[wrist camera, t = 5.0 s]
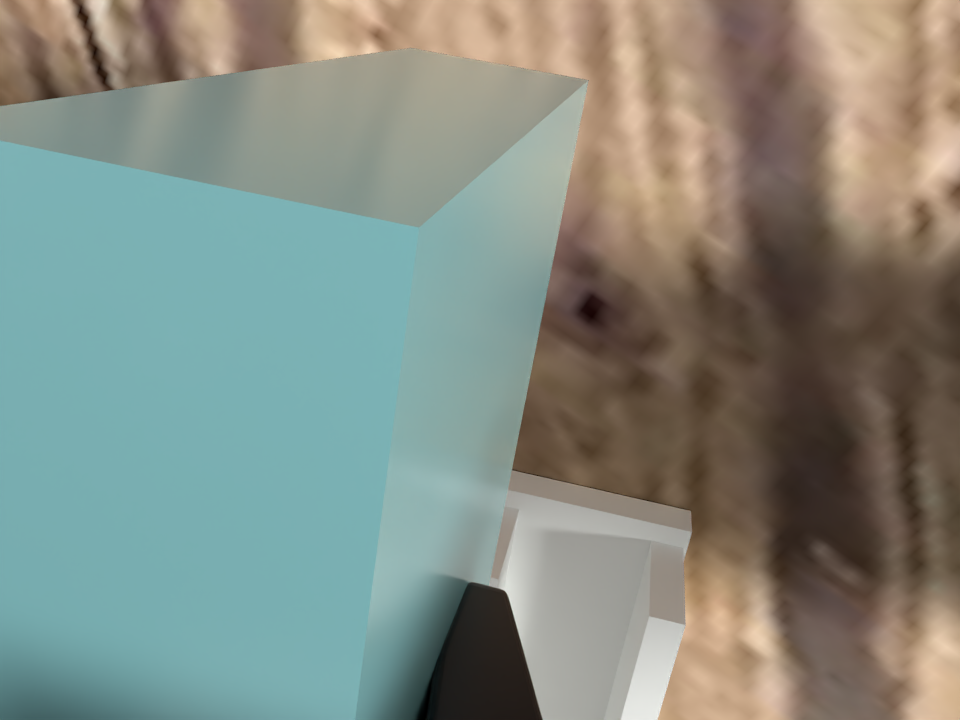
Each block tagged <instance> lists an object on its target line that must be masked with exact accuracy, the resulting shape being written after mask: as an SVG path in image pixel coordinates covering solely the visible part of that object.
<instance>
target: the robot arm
mask: <svg viewBox="0 0 960 720" xmlns="http://www.w3.org/2000/svg"><path fill="white" fill-rule="evenodd" d="M425 720H543V719H542V715H541V711H540V708H539V704H538V701H537V697H536V694H535V690H534V686H533V683H532V679H531V676H530V672H529V669H528V665H527V661H526V658H525V654H524V651H523V647H522V643H521V640H520V636H519V633H518V629H517V626H516V622H515V618H514V615H513V611H512V608H511V604H510V601H509V597H508V595H507V593H506V592H505V591H504V590H502V589H499V588H495V587H491V586H488V585H484V584H480V583H476V582H470V583H468V585H467V587H466V589H465V592H464V594H463V597H462V599H461V602H460V604H459V607H458V609H457V612H456V614H455V617H454V619H453V621H452V624H451V626H450V629H449V631H448V634H447V636H446V639H445V641H444V644H443V646H442V649H441V652H440V654H439V657H438V660H437V662H436V665H435V668H434V672H433V677H432V683H431V689H430V694H429V700H428V706H427V712H426V717H425Z"/></svg>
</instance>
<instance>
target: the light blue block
mask: <svg viewBox="0 0 960 720" xmlns="http://www.w3.org/2000/svg"><path fill="white" fill-rule="evenodd" d="M588 81H589V80H585V79H579V78H574V77H568V76H563V75H557V74H552V73H546V72H541V71H535V70H530V69H524V68H519V67H513V66H508V65H502V64H497V63H491V62H486V61H480V60H475V59H469V58H464V57H458V56H453V55H447V54H442V53H436V52H431V51H425V50H420V49H414V48H407V49H400V50H393V51H386V52H378V53H371V54H364V55H357V56H350V57H343V58H336V59H329V60H322V61H315V62H308V63H301V64H294V65H287V66H280V67H273V68H266V69H259V70H252V71H245V72H237V73H230V74H223V75H216V76H209V77H202V78H195V79H188V80H181V81H174V82H167V83H160V84H153V85H146V86H139V87H132V88H125V89H118V90H111V91H104V92H97V93H89V94H82V95H75V96H68V97H61V98H54V99H47V100H40V101H33V102H26V103H19V104H12V105H5V106H0V720H425V717H426V712H427V706H428V700H429V694H430V689H431V683H432V677H433V672H434V668H435V665H436V662H437V660H438V657H439V654H440V652H441V649H442V646H443V644H444V641H445V639H446V636H447V634H448V631H449V629H450V626H451V624H452V621H453V619H454V617H455V614H456V612H457V609H458V607H459V604H460V602H461V599H462V597H463V594H464V592H465V589H466V587H467V585H468V583H470V582H476V583H480V584H484V585H488V586H489V583H490V578H491V573H492V568H493V563H494V558H495V553H496V548H497V543H498V538H499V533H500V527H501V522H502V517H503V512H504V507H505V502H506V497H507V492H508V487H509V482H510V477H511V472H512V467H513V461H514V456H515V451H516V446H517V441H518V436H519V431H520V426H521V421H522V416H523V411H524V406H525V401H526V396H527V390H528V385H529V380H530V375H531V370H532V365H533V360H534V355H535V350H536V345H537V340H538V335H539V330H540V324H541V319H542V314H543V309H544V304H545V299H546V294H547V289H548V284H549V279H550V274H551V269H552V264H553V258H554V253H555V248H556V243H557V238H558V233H559V228H560V223H561V218H562V213H563V208H564V203H565V198H566V193H567V187H568V182H569V177H570V172H571V167H572V162H573V157H574V152H575V147H576V142H577V137H578V132H579V127H580V121H581V116H582V111H583V106H584V101H585V96H586V91H587V86H588Z"/></svg>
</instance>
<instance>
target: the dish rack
mask: <svg viewBox="0 0 960 720" xmlns="http://www.w3.org/2000/svg"><path fill="white" fill-rule="evenodd" d="M691 534H692V522H691V511H689V510H685V509H680V508H676V507H671V506H667V505H663V504H658V503H654V502H649V501H645V500H641V499H636V498H632V497H627V496H623V495H619V494H614V493H610V492H605V491H601V490H597V489H592V488H588V487H584V486H579V485H575V484H570V483H566V482H562V481H557V480H553V479H548V478H544V477H540V476H535V475H531V474H526V473H522V472H518V471H513V470H512V472H511V477H510V482H509V487H508V492H507V497H506V502H505V507H504V512H503V517H502V522H501V527H500V533H499V538H498V543H497V548H496V553H495V558H494V563H493V568H492V573H491V578H490V583H489V586H491V587H495V588H499V589H502V590H504V591H505V592H506V593H507V595H508V597H509V601H510V604H511V608H512V611H513V615H514V618H515V622H516V626H517V629H518V633H519V636H520V640H521V643H522V647H523V651H524V654H525V658H526V661H527V665H528V669H529V672H530V676H531V679H532V683H533V686H534V690H535V694H536V697H537V701H538V704H539V708H540V711H541V715H542V719H543V720H657V719H658V716H659V712H660V709H661V706H662V702H663V699H664V696H665V692H666V689H667V686H668V682H669V679H670V676H671V672H672V669H673V666H674V662H675V659H676V656H677V652H678V649H679V645H680V642H681V639H682V635H683V632H684V629H685V625H686V623H685V590H684V558H685V555H686V551H687V548H688V544H689V541H690V537H691Z"/></svg>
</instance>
